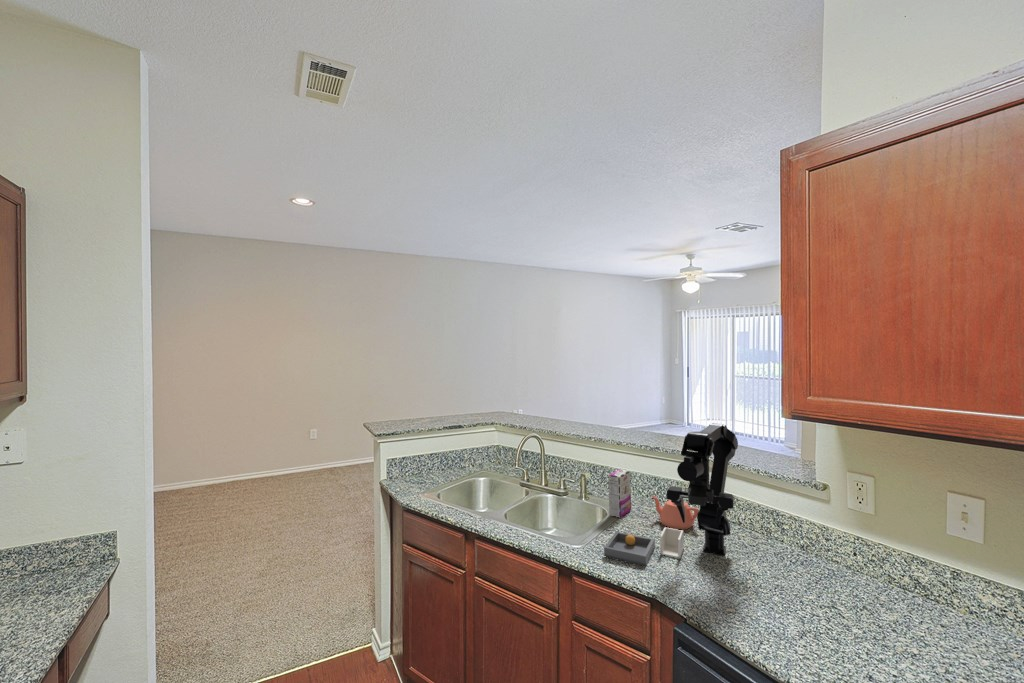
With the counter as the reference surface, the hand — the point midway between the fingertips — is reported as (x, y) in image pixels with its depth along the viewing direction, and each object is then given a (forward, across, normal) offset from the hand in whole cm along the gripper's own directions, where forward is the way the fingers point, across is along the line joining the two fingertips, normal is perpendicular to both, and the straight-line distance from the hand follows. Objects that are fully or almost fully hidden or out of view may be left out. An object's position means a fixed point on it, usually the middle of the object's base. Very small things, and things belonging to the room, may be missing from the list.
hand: (700, 525), depth 136 cm
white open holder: (+12, -9, +5) cm, 16 cm away
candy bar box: (+12, -33, +31) cm, 47 cm away
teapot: (+12, -12, +30) cm, 35 cm away
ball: (+10, -22, +2) cm, 24 cm away
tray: (+12, -21, -2) cm, 24 cm away
